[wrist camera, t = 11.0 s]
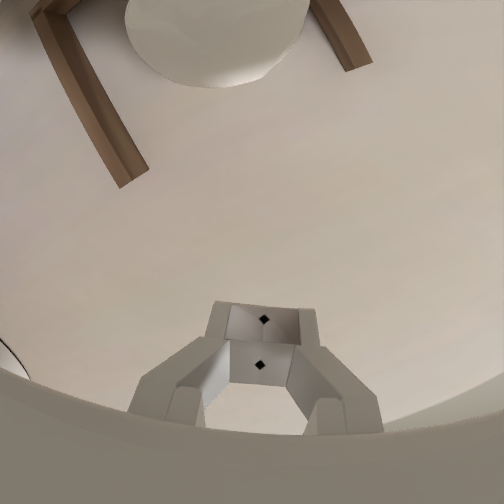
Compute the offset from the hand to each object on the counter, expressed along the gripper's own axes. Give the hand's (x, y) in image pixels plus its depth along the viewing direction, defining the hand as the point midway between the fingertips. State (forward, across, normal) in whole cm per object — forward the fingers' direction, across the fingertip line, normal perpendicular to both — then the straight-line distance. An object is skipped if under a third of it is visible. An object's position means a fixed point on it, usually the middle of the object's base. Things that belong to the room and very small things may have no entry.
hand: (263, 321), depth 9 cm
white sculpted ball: (+11, +3, -10) cm, 15 cm away
